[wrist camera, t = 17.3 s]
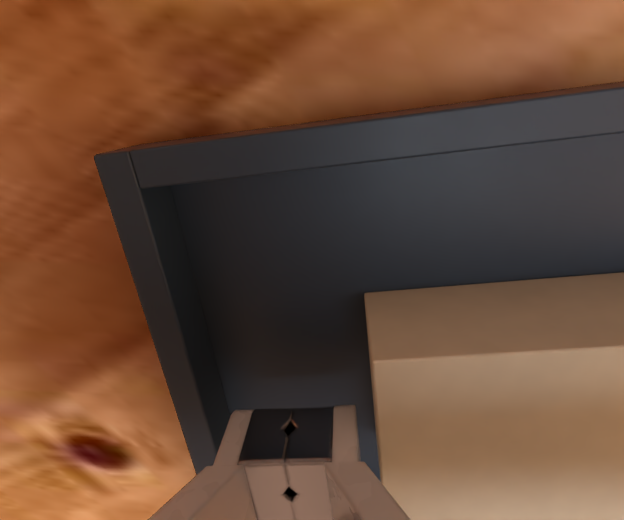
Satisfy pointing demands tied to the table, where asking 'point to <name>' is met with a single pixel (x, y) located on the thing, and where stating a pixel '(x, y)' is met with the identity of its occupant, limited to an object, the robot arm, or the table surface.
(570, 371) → the beige rectangular block
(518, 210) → the backing tray
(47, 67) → the table surface
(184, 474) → the table surface
